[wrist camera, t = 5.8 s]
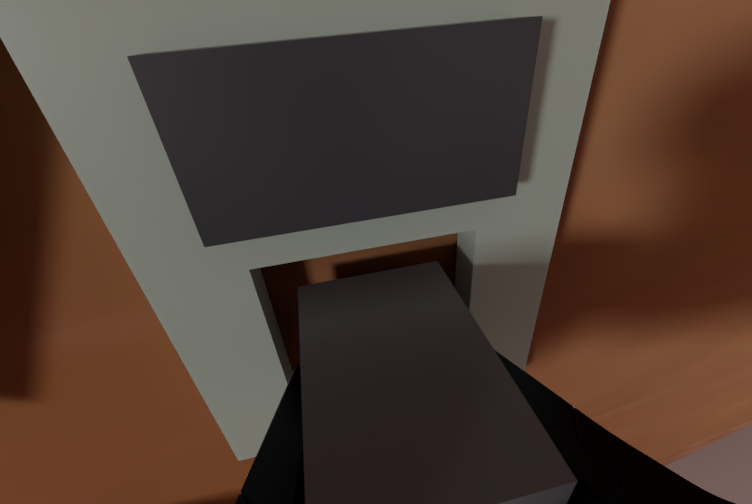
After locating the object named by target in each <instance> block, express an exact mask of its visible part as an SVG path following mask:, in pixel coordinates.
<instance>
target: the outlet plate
mask: <svg viewBox="0 0 752 504" xmlns="http://www.w3.org/2000/svg"><path fill="white" fill-rule="evenodd" d="M610 1H611V0H0V38H1V40H2V41H3V43H4V45H5V47H6V49H7V50H8V52H9V54H10V56H11V57H12V59H13V61H14V63H15V65H16V66H17V68H18V70H19V72H20V73H21V75H22V77H23V79H24V81H25V82H26V84H27V86H28V88H29V89H30V91H31V93H32V95H33V97H34V98H35V100H36V102H37V104H38V105H39V107H40V109H41V111H42V113H43V114H44V116H45V118H46V120H47V121H48V123H49V125H50V127H51V129H52V130H53V132H54V134H55V136H56V137H57V139H58V141H59V143H60V145H61V146H62V148H63V150H64V152H65V153H66V155H67V157H68V159H69V161H70V162H71V164H72V166H73V168H74V169H75V171H76V173H77V175H78V177H79V178H80V180H81V182H82V184H83V185H84V187H85V189H86V191H87V193H88V194H89V196H90V198H91V200H92V201H93V203H94V205H95V207H96V209H97V210H98V212H99V214H100V216H101V217H102V219H103V221H104V223H105V225H106V226H107V228H108V230H109V232H110V233H111V235H112V237H113V239H114V241H115V242H116V244H117V246H118V248H119V249H120V251H121V253H122V255H123V257H124V258H125V260H126V262H127V264H128V265H129V267H130V269H131V271H132V273H133V274H134V276H135V278H136V280H137V281H138V283H139V285H140V287H141V289H142V290H143V292H144V294H145V296H146V297H147V299H148V301H149V303H150V305H151V306H152V308H153V310H154V312H155V313H156V315H157V317H158V319H159V321H160V322H161V324H162V326H163V328H164V329H165V331H166V333H167V335H168V337H169V338H170V340H171V342H172V344H173V345H174V347H175V349H176V351H177V353H178V354H179V356H180V358H181V360H182V361H183V363H184V365H185V367H186V369H187V370H188V372H189V374H190V376H191V377H192V379H193V381H194V383H195V385H196V386H197V388H198V390H199V392H200V393H201V395H202V397H203V399H204V401H205V402H206V404H207V406H208V408H209V409H210V411H211V413H212V415H213V417H214V418H215V420H216V422H217V424H218V425H219V427H220V429H221V431H222V433H223V434H224V436H225V438H226V440H227V441H228V443H229V445H230V447H231V449H232V450H233V452H234V454H235V456H236V457H237V459H238V461H240V460H244V459H249V458H253V457H256V455H257V453H258V451H259V449H260V446H261V444H262V442H263V439H264V437H265V435H266V433H267V430H268V428H269V426H270V423H271V421H272V419H273V417H274V414H275V412H276V410H277V407H278V405H279V403H280V400H281V398H282V396H283V394H284V391H285V389H286V387H287V384H288V382H289V380H290V378H291V375H292V373H293V371H292V368H291V364H290V361H289V358H288V355H287V352H286V349H285V345H284V342H283V339H282V336H281V333H280V330H279V326H278V323H277V320H276V317H275V314H274V311H273V307H272V304H271V301H270V298H269V295H268V291H267V288H266V285H265V282H264V279H263V276H262V272H261V269H260V268H262V267H267V266H273V265H279V264H284V263H290V262H296V261H301V260H307V259H312V258H318V257H324V256H329V255H335V254H341V253H346V252H352V251H357V250H363V249H369V248H374V247H380V246H386V245H391V244H397V243H402V242H408V241H414V240H419V239H425V238H431V237H436V236H442V235H447V234H453V233H458V235H457V253H456V271H455V289H456V291H457V292H458V294H459V296H460V297H461V299H462V300H463V302H464V303H465V305H466V307H467V308H468V310H469V311H470V313H471V314H472V316H473V318H474V319H475V321H476V322H477V324H478V325H479V327H480V329H481V330H482V332H483V333H484V335H485V336H486V338H487V339H488V341H489V343H490V344H491V346H492V347H493V349H494V350H496V351H497V352H498V353H500V354H501V355H503V356H504V357H505V358H507V359H508V360H509V361H511V362H512V363H514V364H515V365H516V366H518V367H519V368H521V369H522V370H523V371H525V367H526V362H527V358H528V354H529V350H530V345H531V341H532V337H533V332H534V328H535V324H536V319H537V315H538V311H539V306H540V302H541V298H542V294H543V289H544V285H545V281H546V276H547V272H548V268H549V263H550V259H551V255H552V250H553V246H554V242H555V238H556V233H557V229H558V225H559V220H560V216H561V212H562V207H563V203H564V199H565V194H566V190H567V186H568V182H569V177H570V173H571V169H572V164H573V160H574V156H575V151H576V147H577V143H578V138H579V134H580V130H581V126H582V121H583V117H584V113H585V108H586V104H587V100H588V95H589V91H590V87H591V82H592V78H593V74H594V70H595V65H596V61H597V57H598V52H599V48H600V44H601V39H602V35H603V31H604V26H605V22H606V18H607V14H608V9H609V5H610Z"/></svg>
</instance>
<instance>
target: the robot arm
mask: <svg viewBox="0 0 752 504" xmlns="http://www.w3.org/2000/svg"><path fill="white" fill-rule="evenodd" d="M495 352H496V354H497V355H498V357H499V358H500V360H501V361H502V363H503V365H504V366H505V368H506V369H507V371H508V372H509V374H510V376H511V377H512V379H513V380H514V382H515V383H516V385H517V386H518V388H519V390H520V391H521V393H522V394H523V396H524V397H525V399H526V401H527V402H528V404H529V405H530V407H531V408H532V410H533V412H534V413H535V415H536V416H537V418H538V419H539V421H540V423H541V424H542V426H543V427H544V429H545V430H546V432H547V434H548V435H549V437H550V438H551V440H552V441H553V443H554V444H555V446H556V448H557V449H558V451H559V452H560V454H561V455H562V457H563V459H564V460H565V462H566V463H567V465H568V466H569V468H570V470H571V471H572V473H573V474H574V476H575V477H576V479H577V483H576V485H575V488H574V490H573V492H572V494H571V496H570V498H569V500H568V502H567V504H735V503H732V502H729V501H727V500H724V499H722V498H720V497H718V496H715V495H713V494H711V493H709V492H707V491H705V490H703V489H701V488H700V487H698V486H696V485H694V484H693V483H691V482H689V481H687V480H686V479H684V478H683V477H681V476H679V475H678V474H676V473H674V472H673V471H671V470H670V469H668V468H666V467H665V466H663V465H662V464H660V463H658V462H657V461H655V460H653V459H652V458H650V457H648V456H647V455H645V454H644V453H642V452H640V451H639V450H637V449H635V448H634V447H632V446H631V445H629V444H628V443H626V442H624V441H623V440H621V439H620V438H618V437H617V436H615V435H613V434H612V433H610V432H609V431H607V430H606V429H604V428H603V427H602V426H600V425H599V424H597V423H596V422H594V421H593V420H591V419H590V418H589V417H587V416H586V415H584V414H583V413H582V412H580V411H579V410H577V409H576V408H574V409H573V406H572V405H570V404H569V403H568V402H566V401H565V400H563V399H562V398H561V397H559V396H558V395H557V394H555V393H554V392H552V391H551V390H550V389H548V388H547V387H545V386H544V385H543V384H541V383H540V382H539V381H537V380H536V379H534V378H533V377H532V376H530V375H529V374H527V373H526V372H525V371H523V370H522V369H521V368H519V367H518V366H516V365H515V364H514V363H512V362H511V361H509V360H508V359H507V358H505V357H504V356H503V355H501V354H500V353H498V352H497V351H496V350H495ZM241 493H242V494H240V495H239V496H238V499H237V501H236V503H235V504H305V484H304V455H303V426H302V398H301V369H300V364H298V365H297V366H296V367H295V369H294V371H293V373H292V375H291V378H290V380H289V382H288V384H287V387H286V389H285V391H284V394H283V396H282V398H281V400H280V403H279V405H278V407H277V410H276V412H275V414H274V417H273V419H272V421H271V423H270V426H269V428H268V430H267V433H266V435H265V437H264V439H263V442H262V444H261V446H260V449H259V451H258V453H257V455H256V458H255V460H254V462H253V465H252V467H251V469H250V471H249V474H248V476H247V478H246V481H245V483H244V485H243V487H242V490H241Z"/></svg>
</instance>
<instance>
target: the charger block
mask: <svg viewBox="0 0 752 504" xmlns="http://www.w3.org/2000/svg"><path fill="white" fill-rule="evenodd" d="M298 312H299V341H300V369H301V398H302V426H303V455H304V484H305V504H567V502H568V500H569V498H570V496H571V494H572V492H573V490H574V488H575V485H576V483H577V479H576V477H575V476H574V474H573V473H572V471H571V470H570V468H569V466H568V465H567V463H566V462H565V460H564V459H563V457H562V455H561V454H560V452H559V451H558V449H557V448H556V446H555V444H554V443H553V441H552V440H551V438H550V437H549V435H548V434H547V432H546V430H545V429H544V427H543V426H542V424H541V423H540V421H539V419H538V418H537V416H536V415H535V413H534V412H533V410H532V408H531V407H530V405H529V404H528V402H527V401H526V399H525V397H524V396H523V394H522V393H521V391H520V390H519V388H518V386H517V385H516V383H515V382H514V380H513V379H512V377H511V376H510V374H509V372H508V371H507V369H506V368H505V366H504V365H503V363H502V361H501V360H500V358H499V357H498V355H497V354H496V352H495V350H494V349H493V347H492V346H491V344H490V343H489V341H488V339H487V338H486V336H485V335H484V333H483V332H482V330H481V329H480V327H479V325H478V324H477V322H476V321H475V319H474V318H473V316H472V314H471V313H470V311H469V310H468V308H467V307H466V305H465V303H464V302H463V300H462V299H461V297H460V296H459V294H458V292H457V291H456V289H455V288H454V286H453V285H452V283H451V281H450V280H449V278H448V277H447V275H446V274H445V272H444V271H443V269H442V267H441V266H440V264H439V263H438V261H433V262H428V263H423V264H417V265H412V266H407V267H401V268H396V269H391V270H385V271H380V272H375V273H369V274H364V275H359V276H353V277H348V278H343V279H337V280H332V281H327V282H321V283H316V284H311V285H305V286H300V287H298Z"/></svg>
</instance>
